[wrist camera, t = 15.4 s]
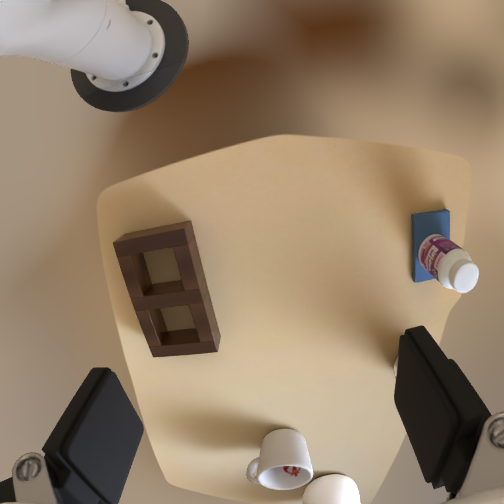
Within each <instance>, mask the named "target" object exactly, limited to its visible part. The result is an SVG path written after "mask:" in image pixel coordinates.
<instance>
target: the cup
mask: <svg viewBox="0 0 504 504" xmlns="http://www.w3.org/2000/svg"><path fill="white" fill-rule="evenodd" d="M257 465H258V469H257V476H255V477H254V470H255V468H256V466H257ZM246 476H247V479H248V480H249V481H250V482H252V483H260V484H261V485H263V486H264V487H267V488H270V489H275V490H288V489H294V488H298V487H301V486H303V485H305V484H307V483H308V482H309V481H310V480H311V479H312V477H313V469H312V465H311V461H310V457H309V453H308V449H307V445H306V442H305V439H304V437H303V436H302V434H300V433H299V432H298V431H295V430H292V429H278V430H274V431H272V432H270V433H268V434H267V435H266V436H265V437H264V439H263V441H262V445H261V451H260V457H258V458H256V459H254V460H252V461H251V462H250V464H249V465H248V468H247V472H246Z"/></svg>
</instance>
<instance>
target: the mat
mask: <svg viewBox="0 0 504 504" xmlns="http://www.w3.org/2000/svg"><path fill="white" fill-rule="evenodd" d="M434 234H439V235H442V236H444V237H445V238H447V239H449V240H450V211H449V210H447V209H445V210H438V211H432V212H425V213H419V214H412V239H413V281H414V282H415V283H416V282H421V281H426V280H430V279H434V277H433V276H432V275H431V274H430V273H429V272H428V271H427V270H426V269H425V268H424V267H423V266H422V265H421V264H420V261H419V257H418V253H419V249H420V246H421V244H422V242H423V241H424V240H425V239H426V238H427V237H428V236H430V235H434Z"/></svg>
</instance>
